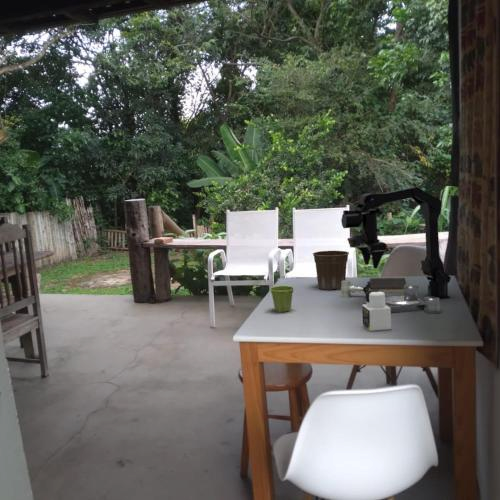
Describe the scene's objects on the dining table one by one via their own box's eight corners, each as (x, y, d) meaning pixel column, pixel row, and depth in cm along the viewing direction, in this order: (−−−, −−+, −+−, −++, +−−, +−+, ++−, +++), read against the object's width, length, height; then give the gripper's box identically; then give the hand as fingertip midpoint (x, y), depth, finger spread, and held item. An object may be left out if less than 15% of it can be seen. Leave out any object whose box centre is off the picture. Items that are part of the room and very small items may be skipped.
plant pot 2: (355, 285, 225) (354, 250, 223) (342, 292, 211) (340, 255, 209) (322, 283, 233) (321, 250, 231) (308, 290, 220) (306, 255, 218)
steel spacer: (435, 309, 175) (434, 295, 174) (442, 312, 170) (441, 298, 169) (421, 310, 174) (421, 297, 174) (428, 314, 170) (428, 300, 169)
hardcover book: (405, 282, 226) (405, 277, 225) (407, 293, 204) (406, 288, 203) (369, 283, 230) (369, 278, 230) (367, 293, 208) (367, 288, 208)
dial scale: (411, 300, 189) (411, 294, 189) (429, 309, 175) (429, 302, 175) (369, 304, 187) (369, 298, 187) (383, 313, 173) (383, 306, 173)
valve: (339, 298, 202) (368, 299, 197) (338, 282, 201) (368, 283, 196) (343, 294, 208) (371, 295, 202) (342, 279, 207) (371, 280, 202)
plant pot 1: (297, 307, 189) (296, 285, 188) (291, 313, 181) (290, 291, 180) (274, 307, 193) (273, 285, 191) (267, 313, 184) (266, 290, 183)
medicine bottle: (362, 325, 161) (361, 289, 159) (383, 323, 162) (382, 288, 160) (369, 331, 154) (368, 294, 152) (391, 329, 154) (390, 292, 153)
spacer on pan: (414, 297, 184) (414, 284, 184) (420, 299, 179) (420, 286, 179) (401, 298, 184) (401, 285, 183) (407, 301, 179) (407, 287, 178)
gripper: (341, 226, 194) (343, 264, 196) (357, 229, 176) (358, 272, 178) (368, 224, 196) (370, 262, 197) (386, 227, 177) (388, 269, 179)
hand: (370, 266), depth 188 cm, fingers open, 9 cm apart
